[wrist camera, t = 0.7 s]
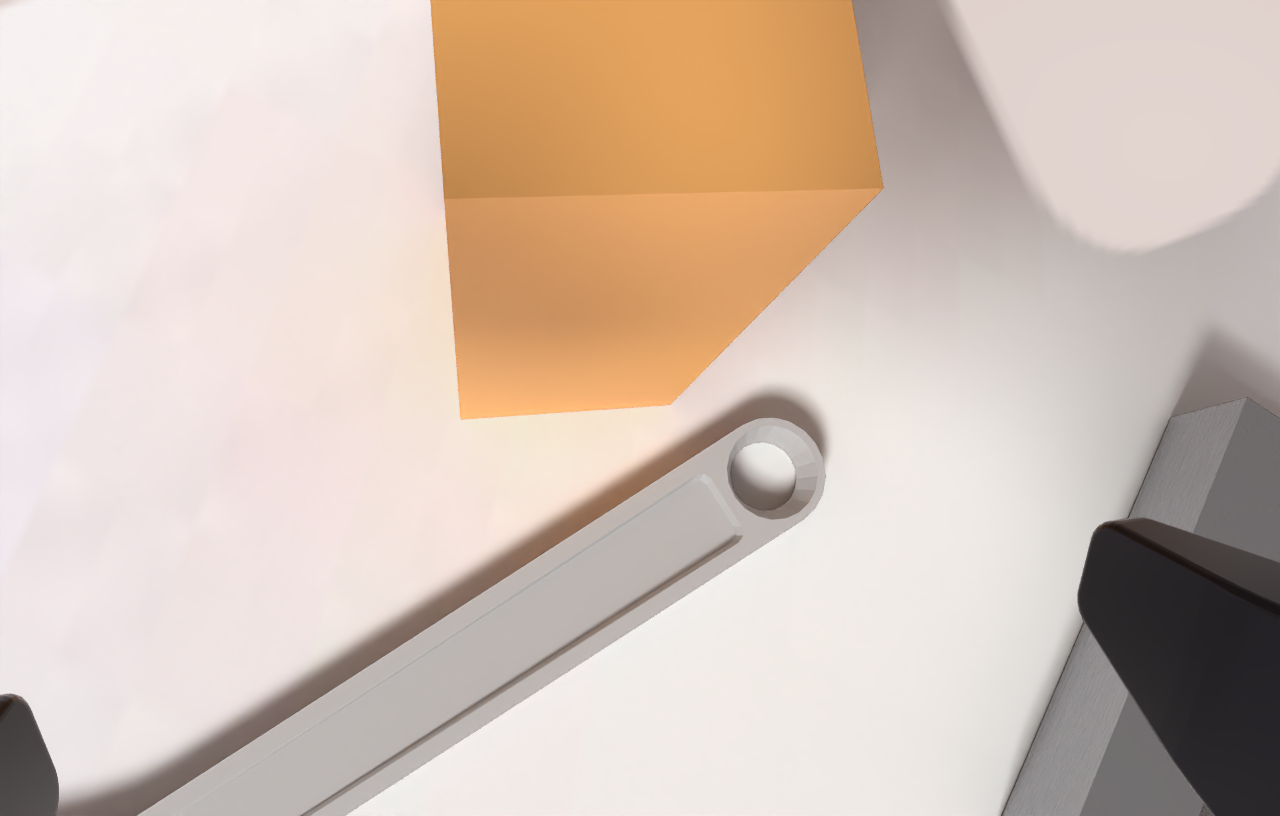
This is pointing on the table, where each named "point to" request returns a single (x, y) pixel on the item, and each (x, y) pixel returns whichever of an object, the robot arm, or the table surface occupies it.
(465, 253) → the tall tan rectangular block
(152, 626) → the table surface
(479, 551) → the table surface
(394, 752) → the adjustable wrench
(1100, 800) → the gray square socket plate
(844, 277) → the table surface
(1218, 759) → the robot arm
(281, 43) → the table surface
